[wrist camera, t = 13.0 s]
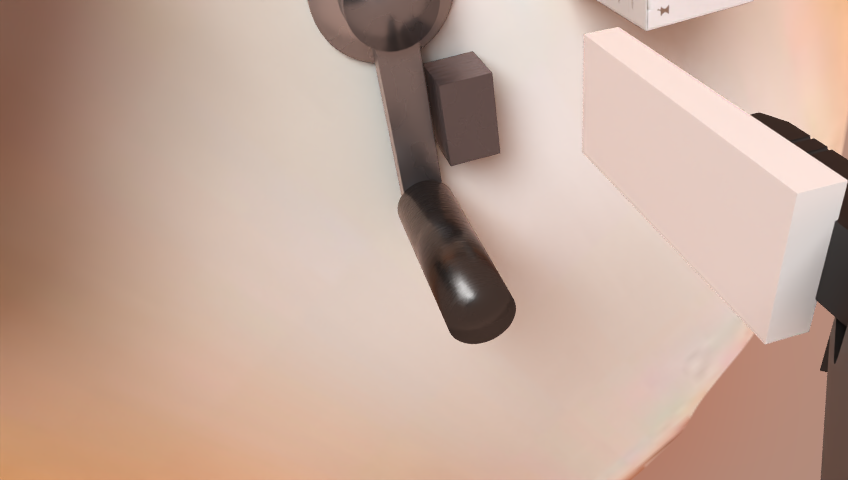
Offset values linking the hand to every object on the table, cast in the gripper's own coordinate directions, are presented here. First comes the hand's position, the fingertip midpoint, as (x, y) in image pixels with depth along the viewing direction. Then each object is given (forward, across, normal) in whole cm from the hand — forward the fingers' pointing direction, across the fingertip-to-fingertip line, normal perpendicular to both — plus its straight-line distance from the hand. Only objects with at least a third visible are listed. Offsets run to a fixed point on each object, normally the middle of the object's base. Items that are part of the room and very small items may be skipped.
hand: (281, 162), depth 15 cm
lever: (+26, +8, -11) cm, 29 cm away
